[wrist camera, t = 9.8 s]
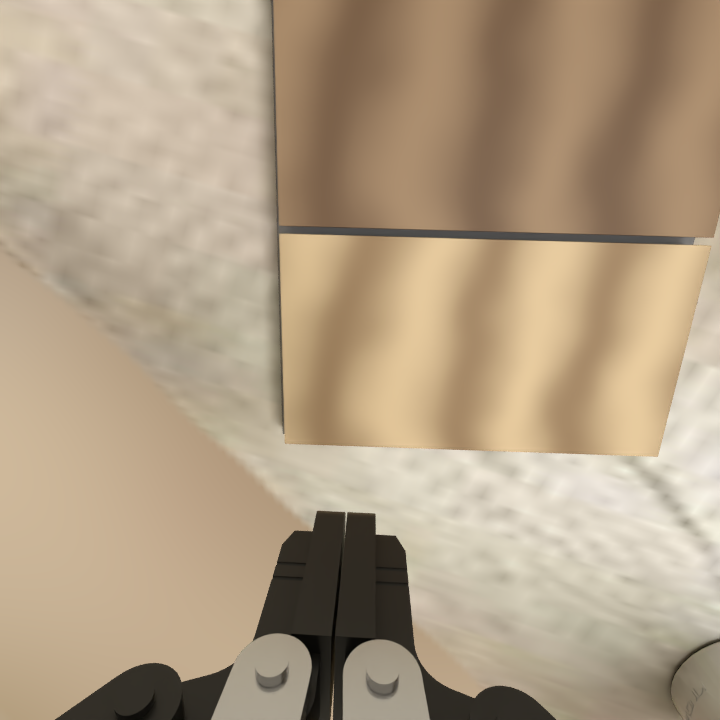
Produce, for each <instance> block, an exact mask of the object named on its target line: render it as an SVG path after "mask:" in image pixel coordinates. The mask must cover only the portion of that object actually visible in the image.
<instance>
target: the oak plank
mask: <svg viewBox="0 0 720 720" xmlns="http://www.w3.org/2000/svg"><path fill="white" fill-rule="evenodd" d="M279 244H280V281H281V318H282V356H283V393H284V430H285V444H311V445H339V446H368V447H396V448H425V449H453V450H482V451H510V452H539V453H567V454H596V455H624V456H653V457H658V454H659V450H660V446H661V442H662V438H663V434H664V430H665V426H666V422H667V418H668V415H669V411H670V407H671V403H672V399H673V395H674V391H675V387H676V383H677V379H678V375H679V371H680V367H681V364H682V360H683V356H684V352H685V348H686V344H687V340H688V336H689V332H690V328H691V324H692V320H693V316H694V312H695V309H696V305H697V301H698V297H699V293H700V289H701V285H702V281H703V277H704V273H705V269H706V265H707V261H708V258H709V254H710V250H711V246H707V245H684V244H648V243H612V242H577V241H541V240H505V239H469V238H433V237H397V236H361V235H326V234H290V233H283V234H279Z"/></svg>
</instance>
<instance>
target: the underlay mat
mask: <svg viewBox="0 0 720 720" xmlns="http://www.w3.org/2000/svg"><path fill="white" fill-rule="evenodd" d="M272 38H273V77H274V115H275V153H276V191H277V230H278V268H279V306H280V345H281V383H282V421H283V434H285V430H284V393H283V356H282V318H281V281H280V244H279V234H283V233H290V234H326V235H361V236H397V237H433V238H469V239H505V240H541V241H577V242H612V243H648V244H684V245H693V243H694V239H695V237H658V236H622V235H586V234H550V233H513V232H477V231H441V230H405V229H369V228H332V227H296V226H279V205H278V165H277V125H276V85H275V45H274V6H273V0H272Z"/></svg>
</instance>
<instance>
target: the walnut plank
mask: <svg viewBox="0 0 720 720" xmlns="http://www.w3.org/2000/svg"><path fill="white" fill-rule="evenodd" d="M273 6H274V45H275V85H276V125H277V165H278V205H279V226H296V227H332V228H369V229H405V230H441V231H477V232H513V233H550V234H586V235H622V236H658V237H713V238H714V234H715V230H716V226H717V222H718V218H719V214H720V0H273Z"/></svg>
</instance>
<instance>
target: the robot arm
mask: <svg viewBox="0 0 720 720" xmlns="http://www.w3.org/2000/svg"><path fill="white" fill-rule="evenodd" d="M333 685H334V703H333V720H556V719H555V718H554V717H553V716H552V715H551V714H550V713H549V712H548V711H547V710H546V709H544V708H543V707H542V706H541V705H540V704H539V703H538V702H537V701H536V700H534V699H533V698H532V697H530V696H529V695H527V694H526V693H524V692H522V691H520V690H517V689H514V688H511V687H506V686H494V687H490V688H487V689H485V690H483V691H482V692H480V693H479V694H478V695H477V696H476V698H472V697H470V696H467V695H465V694H462V693H460V692H457V691H455V690H452V689H450V688H448V687H446V686H444V685H442V684H441V683H439V682H438V681H436V680H435V679H434V678H433V677H432V676H431V675H430V674H428V672H427V671H426V670H425V669H424V667H423V666H422V665H421V663H420V661H419V659H418V657H417V654H416V651H415V646H414V637H413V626H412V616H411V605H410V595H409V587H408V574H407V563H406V553H405V550H404V548H403V547H402V545H401V544H400V542H399V540H398V539H397V537H396V536H388V535H376V524H375V514H372V513H353V512H348V513H347V523H346V533H345V512H331V511H317V514H316V518H315V523H314V528H313V532H311V531H294V532H293V533H292V534H291V536H290V537H289V538H288V539H287V540H286V541H285V542H284V543H283V544H282V547H281V551H280V554H279V557H278V561H277V565H276V567H275V571H274V574H273V579H272V581H271V584H270V587H269V591H268V594H267V597H266V600H265V604H264V607H263V610H262V614H261V617H260V620H259V624H258V627H257V630H256V634H255V637H254V639H253V641H252V642H251V643H250V644H249V645H247V646H246V647H245V648H244V649H243V650H242V651H241V653H240V654H239V656H238V657H237V659H236V661H235V663H233V664H232V665H231V666H229V667H227V668H225V669H223V670H221V671H219V672H217V673H214V674H211V675H207V676H203V677H200V678H195V679H192V680H188V681H184V682H181V680H180V677H179V676H178V674H177V672H176V671H175V670H174V669H172V668H171V667H169V666H167V665H164V664H159V663H149V664H143V665H140V666H136V667H134V668H131V669H129V670H127V671H125V672H123V673H122V674H120V675H119V676H117V677H116V678H114V679H113V680H111V681H110V682H108V683H107V684H105V685H104V686H103V687H101V688H100V689H98V690H97V691H95V692H94V693H93V694H91V695H90V696H88V697H87V698H85V699H84V700H83V701H81V702H80V703H78V704H77V705H76V706H74V707H72V708H71V709H70V710H68V711H67V712H65V713H64V714H63V715H61V716H60V717H58V718H57V719H55V720H330V717H331V706H332V695H333ZM671 697H672V701H673V703H674V705H675V707H676V709H677V710H678V712H679V713H680V715H681V716H682V718H683V719H684V720H720V642H717V643H714V644H712V645H710V646H707V647H705V648H703V649H701V650H700V651H698V652H696V653H695V654H693V655H692V656H691V657H689V658H688V659H687V660H686V661H685V662H684V663H683V664H682V665H681V667H680V668H679V669H678V671H677V672H676V674H675V676H674V678H673V681H672V685H671Z"/></svg>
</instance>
